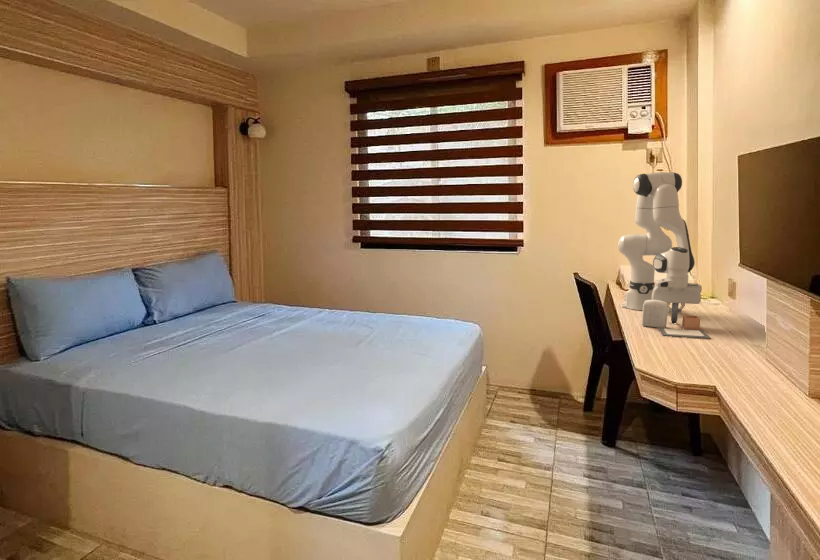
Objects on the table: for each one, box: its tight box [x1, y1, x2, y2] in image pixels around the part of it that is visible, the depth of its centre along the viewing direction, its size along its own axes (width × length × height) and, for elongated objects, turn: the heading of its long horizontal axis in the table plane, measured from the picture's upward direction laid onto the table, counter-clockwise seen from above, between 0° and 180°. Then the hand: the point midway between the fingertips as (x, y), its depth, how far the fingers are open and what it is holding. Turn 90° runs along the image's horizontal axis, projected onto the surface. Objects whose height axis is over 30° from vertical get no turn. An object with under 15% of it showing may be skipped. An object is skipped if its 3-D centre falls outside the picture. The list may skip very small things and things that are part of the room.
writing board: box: [657, 327, 712, 340], centre depth 219 cm, size 12×18×1 cm, turn 74°
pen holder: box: [681, 314, 701, 330], centre depth 227 cm, size 6×6×6 cm
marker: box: [670, 303, 680, 324], centre depth 236 cm, size 3×3×11 cm
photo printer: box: [641, 300, 669, 328], centre depth 231 cm, size 10×4×12 cm, turn 61°
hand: (674, 312), depth 236 cm, fingers closed on marker, 3 cm apart
